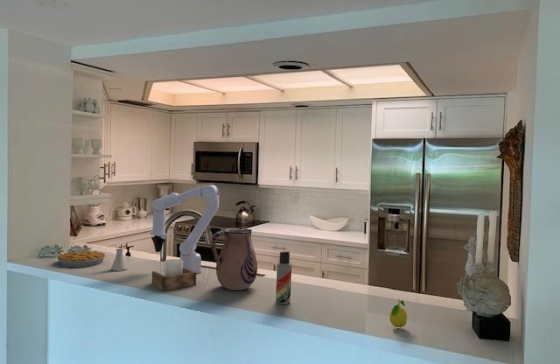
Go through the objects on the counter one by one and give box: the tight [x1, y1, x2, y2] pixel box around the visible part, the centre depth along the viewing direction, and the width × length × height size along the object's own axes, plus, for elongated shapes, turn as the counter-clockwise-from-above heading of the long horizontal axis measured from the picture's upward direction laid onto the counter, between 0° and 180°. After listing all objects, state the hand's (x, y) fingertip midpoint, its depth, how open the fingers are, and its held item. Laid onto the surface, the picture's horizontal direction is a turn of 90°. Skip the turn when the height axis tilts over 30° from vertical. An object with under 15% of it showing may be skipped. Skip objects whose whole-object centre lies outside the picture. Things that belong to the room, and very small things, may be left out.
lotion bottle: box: [275, 251, 293, 305], centre depth 166 cm, size 6×6×20 cm
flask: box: [110, 248, 128, 272], centre depth 208 cm, size 7×7×10 cm
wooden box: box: [151, 267, 197, 291], centre depth 185 cm, size 15×12×6 cm
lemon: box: [389, 298, 408, 328], centre depth 143 cm, size 7×6×10 cm
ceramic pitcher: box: [210, 227, 258, 291], centre depth 183 cm, size 18×21×25 cm
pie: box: [57, 250, 106, 268], centre depth 219 cm, size 22×22×5 cm
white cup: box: [164, 258, 183, 276], centre depth 187 cm, size 8×8×10 cm
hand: (158, 251), depth 207 cm, fingers closed
